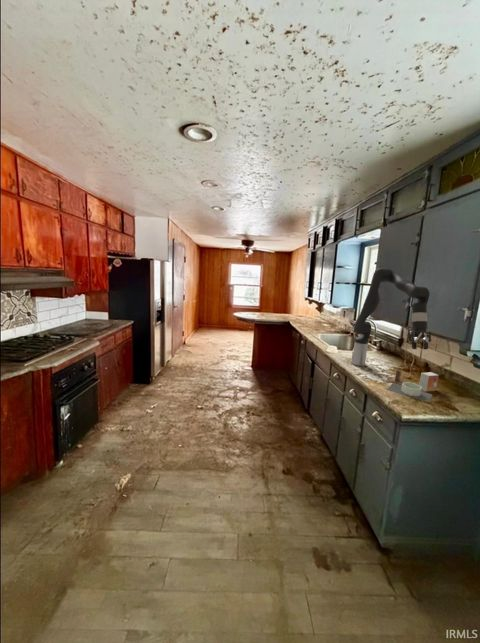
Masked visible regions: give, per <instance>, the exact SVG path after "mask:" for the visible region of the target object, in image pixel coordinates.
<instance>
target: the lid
mask: <svg viewBox="0 0 480 643" xmlns="http://www.w3.org/2000/svg"><path fill="white" fill-rule="evenodd" d="M401 375H402V370H401V369H396V371H395V377H394V376H390V377H387V378H386V380H387V381H388V382H390V383H391V384H396V385H400V386H402V384H403V382H408V381H407V380H405V379H404V378H401Z"/></svg>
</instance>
